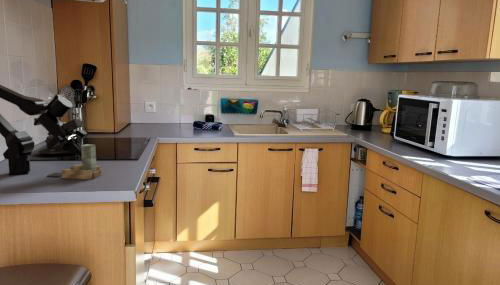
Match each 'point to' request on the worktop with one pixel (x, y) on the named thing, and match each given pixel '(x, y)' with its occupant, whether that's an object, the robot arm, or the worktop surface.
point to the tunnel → (78, 172)
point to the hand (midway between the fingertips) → (83, 155)
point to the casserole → (57, 150)
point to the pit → (55, 175)
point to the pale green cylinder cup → (90, 159)
